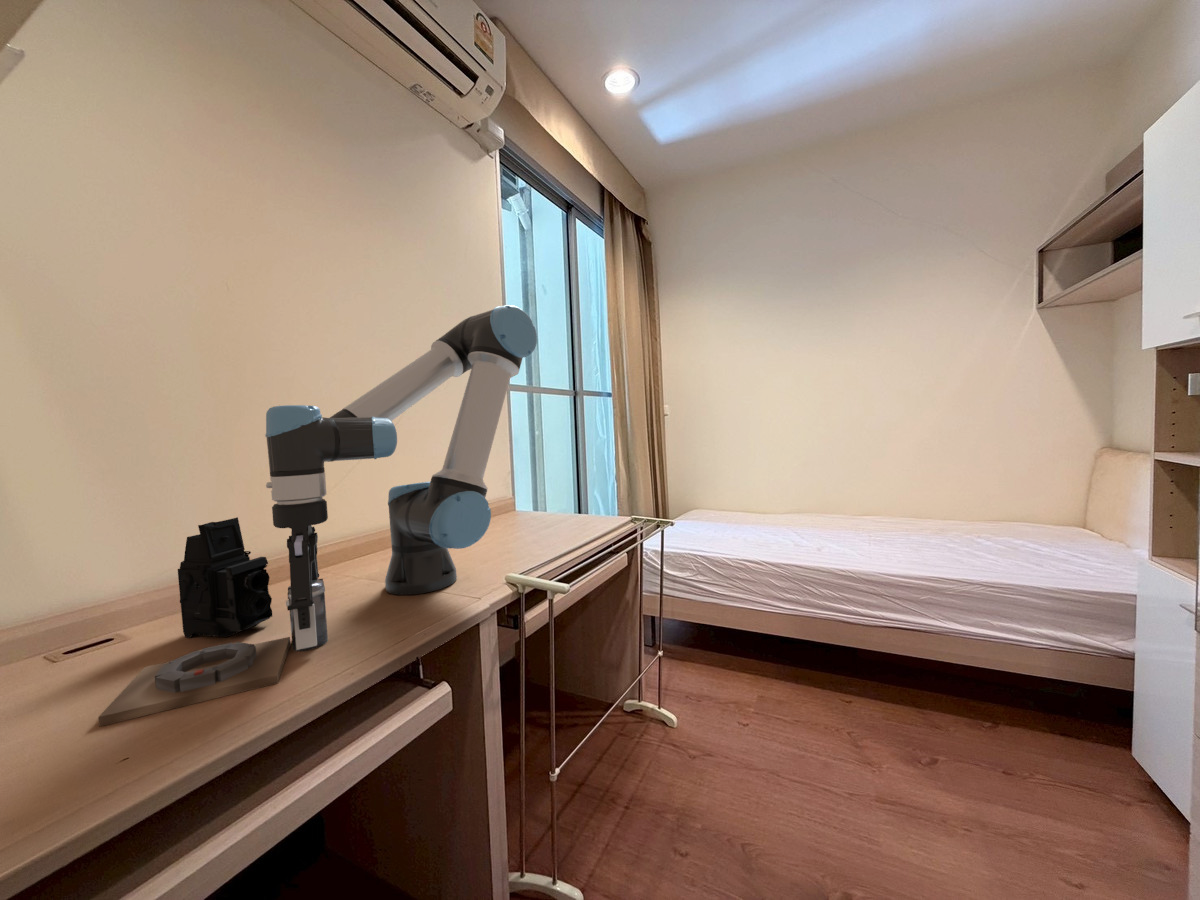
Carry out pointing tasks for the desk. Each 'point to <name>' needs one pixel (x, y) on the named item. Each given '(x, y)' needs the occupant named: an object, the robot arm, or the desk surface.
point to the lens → (320, 615)
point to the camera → (221, 583)
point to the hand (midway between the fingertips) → (309, 635)
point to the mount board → (166, 701)
